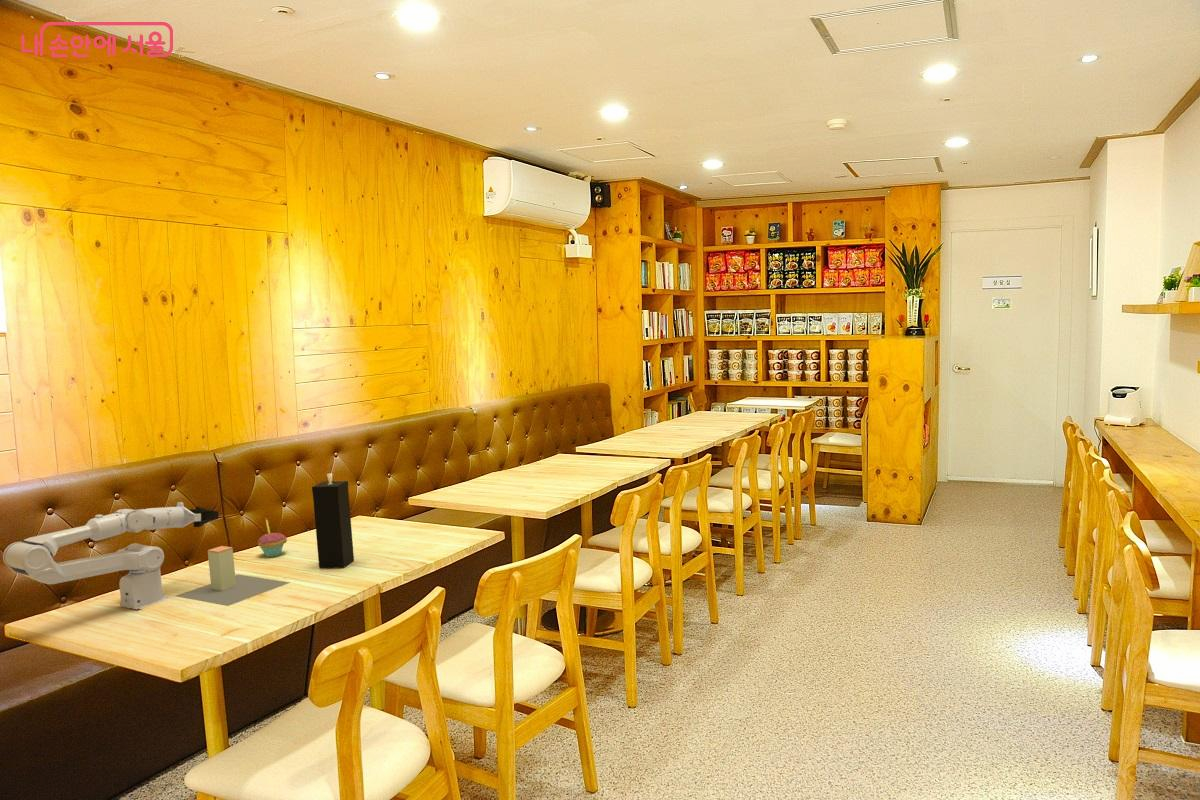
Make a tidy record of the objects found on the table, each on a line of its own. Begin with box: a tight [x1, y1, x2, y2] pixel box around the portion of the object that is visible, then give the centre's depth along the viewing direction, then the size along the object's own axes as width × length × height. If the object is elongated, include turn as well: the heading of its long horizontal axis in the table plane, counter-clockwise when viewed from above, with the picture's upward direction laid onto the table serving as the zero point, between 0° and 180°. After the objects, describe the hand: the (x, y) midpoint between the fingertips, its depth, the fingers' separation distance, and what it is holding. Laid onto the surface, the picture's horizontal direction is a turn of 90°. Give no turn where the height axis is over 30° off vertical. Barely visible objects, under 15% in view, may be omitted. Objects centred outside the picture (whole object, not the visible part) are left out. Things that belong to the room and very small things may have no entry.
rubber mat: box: [175, 573, 291, 607], centre depth 228 cm, size 20×22×1 cm
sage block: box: [207, 545, 236, 591], centre depth 229 cm, size 4×4×11 cm
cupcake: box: [257, 518, 288, 558], centre depth 263 cm, size 9×8×12 cm
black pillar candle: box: [311, 472, 355, 569], centre depth 247 cm, size 8×8×28 cm
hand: (209, 514), depth 237 cm, fingers open, 7 cm apart
